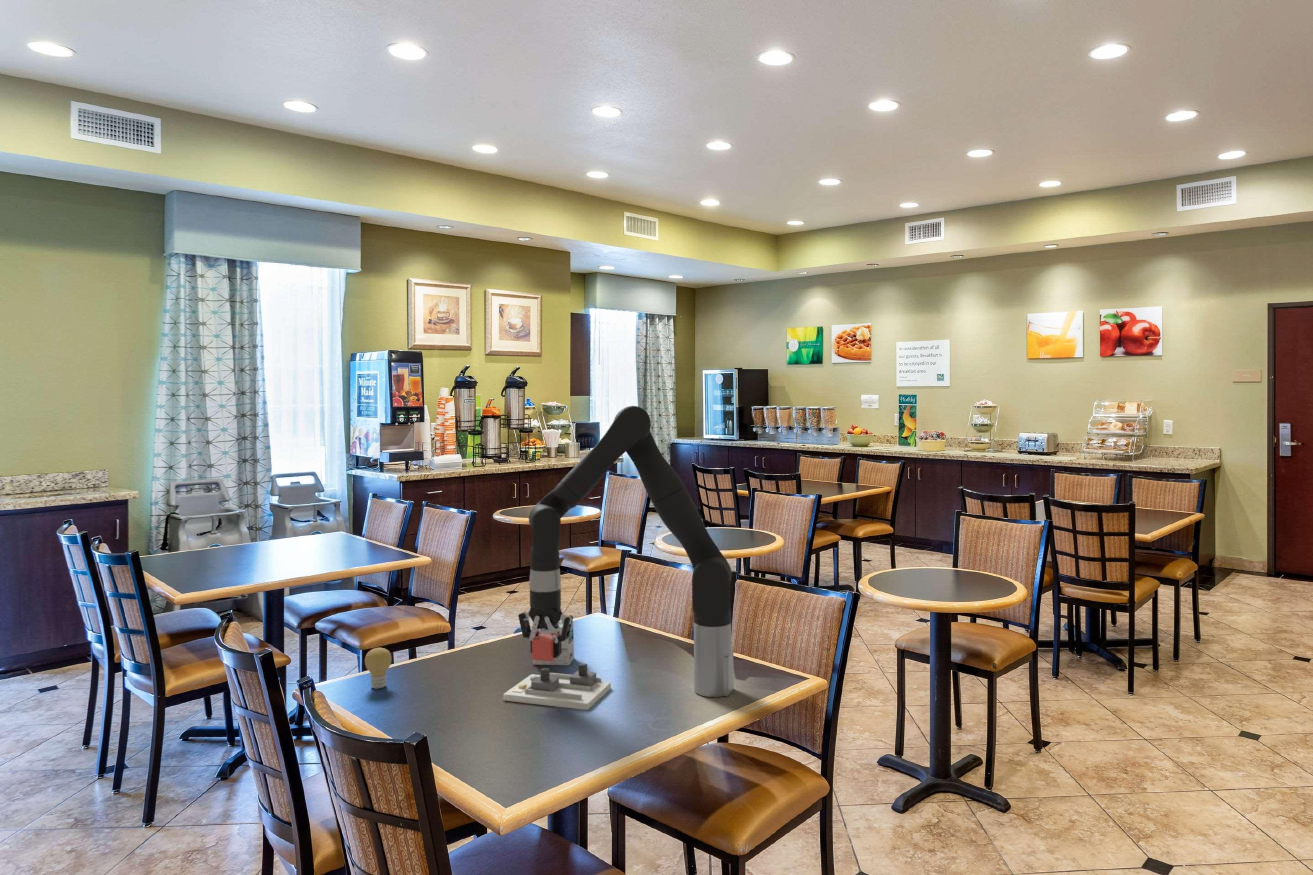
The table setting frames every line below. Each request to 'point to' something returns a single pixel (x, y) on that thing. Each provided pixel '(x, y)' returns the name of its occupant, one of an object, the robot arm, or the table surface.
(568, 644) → the light bulb box
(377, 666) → the light bulb
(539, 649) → the cap
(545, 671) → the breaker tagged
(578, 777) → the table surface
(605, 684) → the panel
